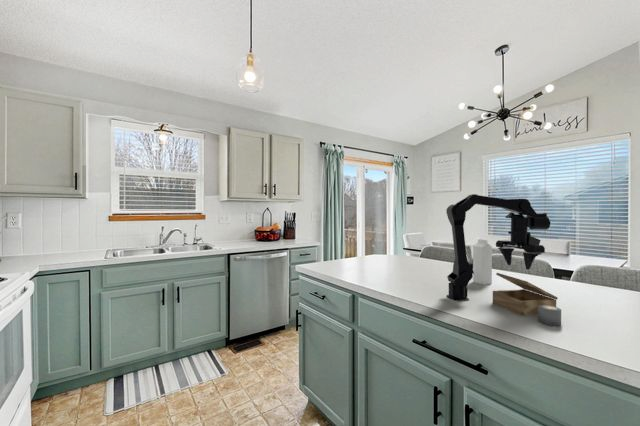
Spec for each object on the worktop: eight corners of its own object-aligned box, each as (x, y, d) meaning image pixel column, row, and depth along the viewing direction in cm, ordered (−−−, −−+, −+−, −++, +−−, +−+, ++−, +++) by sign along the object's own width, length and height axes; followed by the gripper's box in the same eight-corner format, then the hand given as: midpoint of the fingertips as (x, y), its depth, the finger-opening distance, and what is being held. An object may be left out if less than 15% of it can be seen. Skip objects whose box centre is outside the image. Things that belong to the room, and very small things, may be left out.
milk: (482, 284, 146) (482, 240, 145) (472, 281, 152) (472, 239, 151) (492, 283, 147) (492, 240, 147) (482, 280, 153) (482, 238, 153)
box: (521, 315, 103) (521, 301, 103) (492, 303, 117) (492, 290, 117) (556, 313, 105) (556, 299, 105) (524, 301, 119) (524, 289, 119)
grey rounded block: (549, 327, 94) (549, 311, 94) (533, 320, 100) (533, 305, 99) (566, 326, 94) (566, 310, 94) (549, 319, 100) (549, 304, 100)
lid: (525, 283, 103) (526, 281, 103) (496, 274, 118) (496, 272, 118) (557, 299, 105) (557, 297, 105) (523, 288, 119) (524, 287, 119)
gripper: (557, 231, 113) (556, 271, 113) (517, 227, 131) (516, 262, 132) (532, 231, 111) (531, 272, 111) (495, 227, 129) (494, 263, 130)
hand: (518, 267), depth 121 cm, fingers open, 9 cm apart
